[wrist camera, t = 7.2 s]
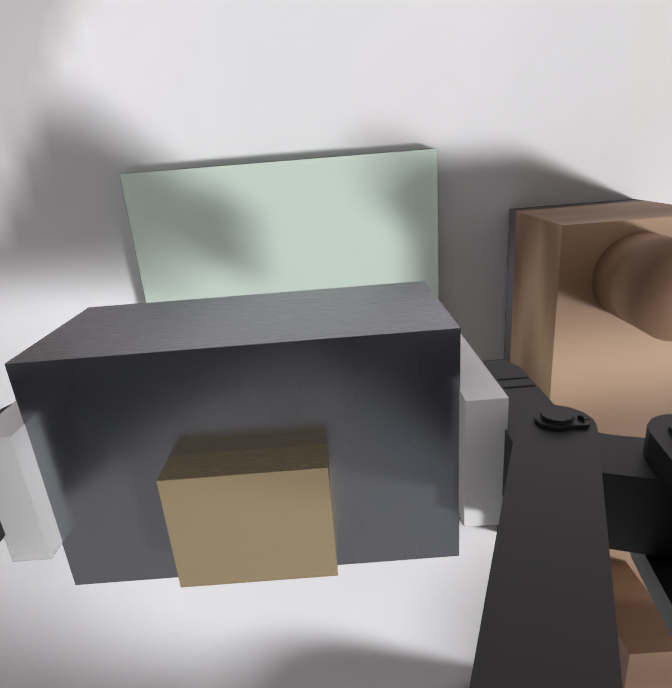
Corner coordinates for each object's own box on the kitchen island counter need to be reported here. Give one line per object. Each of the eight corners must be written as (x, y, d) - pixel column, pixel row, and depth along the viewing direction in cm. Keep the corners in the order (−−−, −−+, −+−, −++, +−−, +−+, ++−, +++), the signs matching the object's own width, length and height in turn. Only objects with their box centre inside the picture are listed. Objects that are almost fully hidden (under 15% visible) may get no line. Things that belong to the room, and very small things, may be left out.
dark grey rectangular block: (427, 461, 14) (468, 585, 10) (133, 484, 14) (57, 616, 10) (424, 280, 12) (472, 344, 8) (88, 307, 12) (-24, 383, 8)
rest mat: (436, 404, 24) (439, 410, 23) (176, 424, 24) (172, 430, 24) (434, 148, 20) (437, 148, 20) (125, 173, 20) (119, 174, 20)
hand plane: (596, 525, 26) (723, 700, 18) (497, 532, 26) (577, 710, 18) (634, 199, 21) (842, 230, 13) (509, 209, 21) (632, 246, 13)
